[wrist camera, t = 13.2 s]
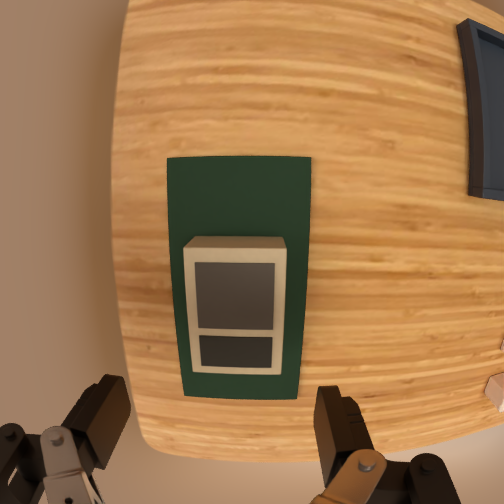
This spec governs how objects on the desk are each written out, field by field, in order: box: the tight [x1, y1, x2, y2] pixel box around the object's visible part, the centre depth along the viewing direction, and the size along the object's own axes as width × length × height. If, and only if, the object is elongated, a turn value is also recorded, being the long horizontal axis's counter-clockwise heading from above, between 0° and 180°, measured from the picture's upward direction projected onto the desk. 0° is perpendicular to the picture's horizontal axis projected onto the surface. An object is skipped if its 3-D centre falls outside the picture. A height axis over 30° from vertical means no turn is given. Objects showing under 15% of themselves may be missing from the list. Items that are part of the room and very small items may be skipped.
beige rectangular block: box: [183, 236, 287, 374], centre depth 22 cm, size 9×6×4 cm
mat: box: [167, 156, 311, 400], centre depth 24 cm, size 20×10×1 cm, turn 0°
